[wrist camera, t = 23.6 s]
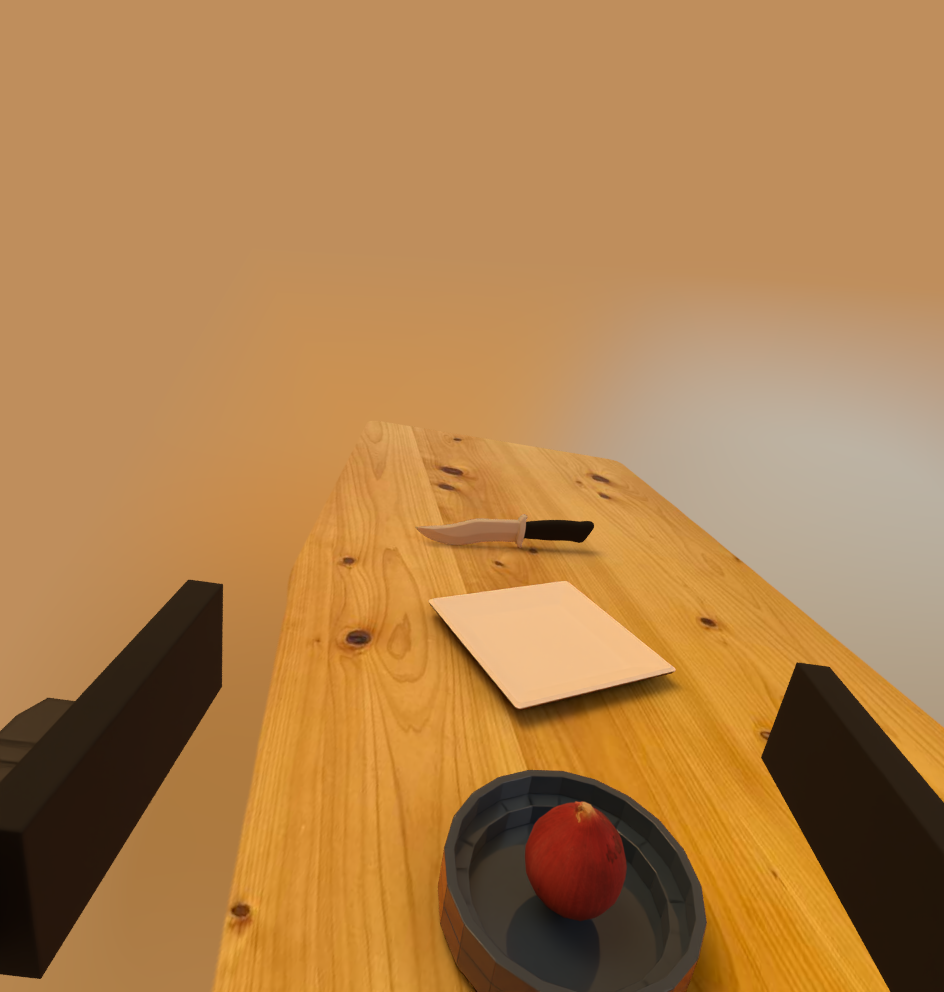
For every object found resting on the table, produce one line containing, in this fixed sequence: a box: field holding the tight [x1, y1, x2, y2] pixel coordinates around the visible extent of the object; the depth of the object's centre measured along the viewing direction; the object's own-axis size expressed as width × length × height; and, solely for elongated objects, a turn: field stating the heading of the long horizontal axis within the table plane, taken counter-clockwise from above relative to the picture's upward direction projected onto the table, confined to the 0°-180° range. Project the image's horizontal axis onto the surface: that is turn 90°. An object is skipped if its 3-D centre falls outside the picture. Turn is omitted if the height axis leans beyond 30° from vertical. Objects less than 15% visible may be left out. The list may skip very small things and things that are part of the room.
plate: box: [429, 581, 675, 710], centre depth 67 cm, size 19×19×2 cm
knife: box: [416, 514, 594, 548], centre depth 89 cm, size 25×2×5 cm, turn 100°
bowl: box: [438, 770, 707, 992], centre depth 39 cm, size 15×15×4 cm
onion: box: [525, 801, 627, 921], centre depth 38 cm, size 6×6×8 cm
